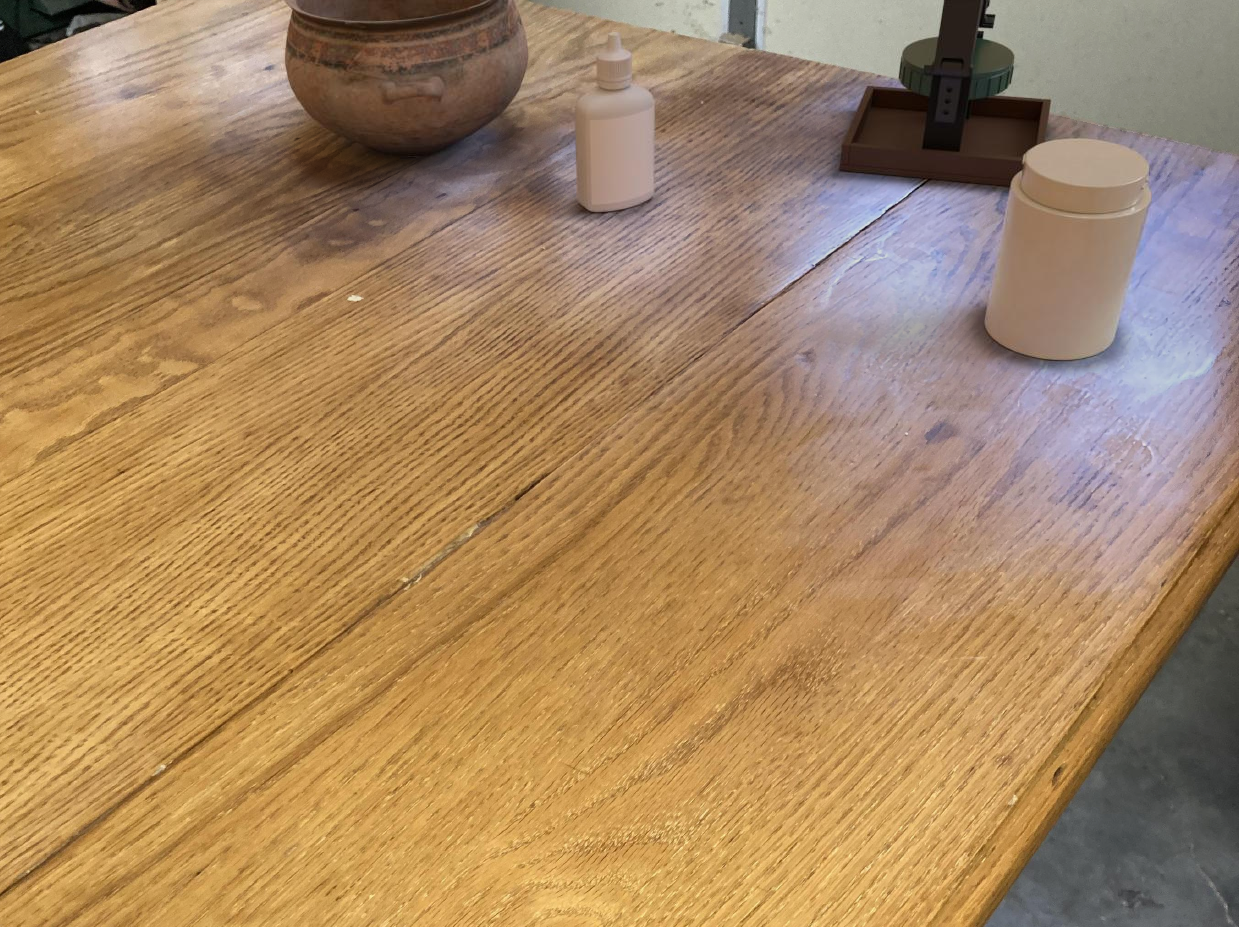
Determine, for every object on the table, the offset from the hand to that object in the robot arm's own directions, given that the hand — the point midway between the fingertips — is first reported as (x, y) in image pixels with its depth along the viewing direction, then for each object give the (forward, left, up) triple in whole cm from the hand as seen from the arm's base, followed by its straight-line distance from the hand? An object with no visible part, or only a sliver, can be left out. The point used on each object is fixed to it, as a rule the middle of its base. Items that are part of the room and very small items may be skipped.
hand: (945, 137), depth 101 cm
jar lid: (0, 0, +6) cm, 6 cm away
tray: (0, 0, -1) cm, 1 cm away
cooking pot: (+41, +8, -1) cm, 42 cm away
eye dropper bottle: (+22, +15, -1) cm, 27 cm away
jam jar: (-9, +26, -1) cm, 28 cm away
